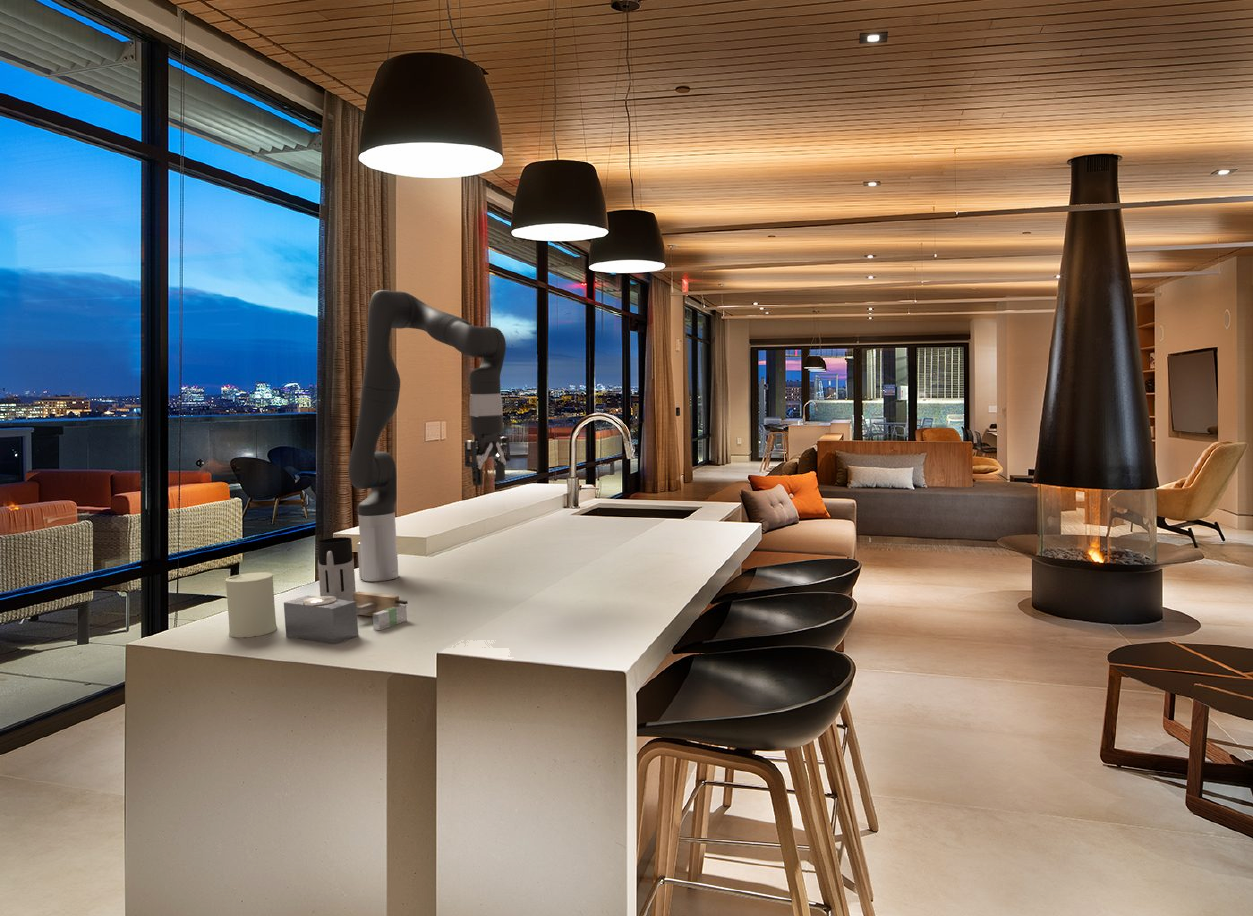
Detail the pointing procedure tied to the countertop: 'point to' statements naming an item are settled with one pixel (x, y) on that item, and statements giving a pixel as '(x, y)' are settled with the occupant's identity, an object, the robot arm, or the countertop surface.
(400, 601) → the tan wooden bar
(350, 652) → the countertop surface
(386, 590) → the countertop surface
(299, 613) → the set of grey blocks
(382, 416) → the robot arm
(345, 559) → the black and white mug
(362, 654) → the countertop surface
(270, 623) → the can
